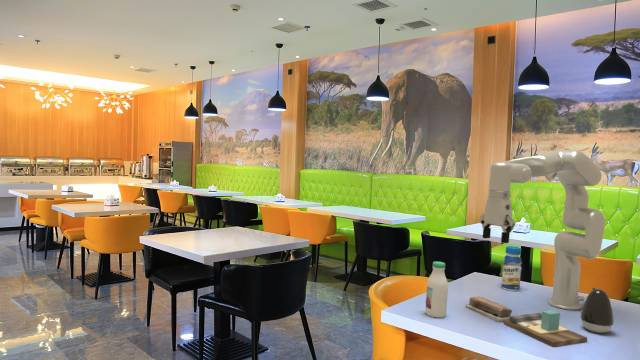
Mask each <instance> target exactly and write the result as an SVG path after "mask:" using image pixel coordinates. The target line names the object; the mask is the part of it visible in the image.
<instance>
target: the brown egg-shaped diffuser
mask: <svg viewBox="0 0 640 360" xmlns="http://www.w3.org/2000/svg"><path fill="white" fill-rule="evenodd" d="M580 319H581V323H582V325H583V327H584V328H585V329H587V331H590V332H592V333H596V334H597V333H598V334H605V333H607V332H609V331H610V330H611V329H612V327H613V325H614V322H615V321H614V311H613V306H612V304H611V300H610V297H609V294H607V292H606V291H605V290H603V289H601V288H595V287H593V288H592V290H591V291H590V292H589V293H588V295H587V296H586V298H585V300H584V303H583V306H582V308H581V313H580Z"/></svg>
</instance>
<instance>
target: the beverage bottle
mask: <svg viewBox="0 0 640 360" xmlns="http://www.w3.org/2000/svg"><path fill="white" fill-rule="evenodd" d="M505 254H506V255H505V256H504V257H503V260H502V261H503V263H502V266H501V267H502V273H501V284H500V285H501V286H500V287H501V288H502V289H503V290H505V291H511V292H519V291H520V289H521V276H522V274H521V273H522V268H523V267H522V264H523V262H522V258H521V254H522V248H521V247H520V246H515V245H507V246H506V247H505Z"/></svg>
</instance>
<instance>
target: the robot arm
mask: <svg viewBox="0 0 640 360" xmlns="http://www.w3.org/2000/svg"><path fill="white" fill-rule="evenodd" d="M555 173H556V176H557V179H558V180H559V182H560V183H561V185H562V187H563V189H564V192H565V201H564V206H563V212H562V213H563V214H562V219H561V220H562V225H563V226H564V227H566V228H568V229H572V230H577V231H582V232H585V233H579V232H573V231H566V230H565V231H560V232H558V233H557V234H556V235H555V237H554V240H553V241H554V250H555V251H554V252H555V262H554V263H555V264H554V273H553V274H554V275H553V287H552V298H549V299H548V300H547V301H548V302H547V303H548V305H550V306H553V307H555V308H558V309H563V310H569V311H578V310H582V308H583V306H582V304H581V303H580V302H585V300H586V298H585V296H584V295H581V296H580V295H579V293H580V292H579V291H580V278H581V277H580V276H581V262H580V260H579V257H580V258H582V259H583V258H584V259H589V260H594V259H596V258H597V257H598V256H599V255H600V252H601V250H602V245H603V239H604V234H605V233H604V232H605V228H606V226H605V225H606V218H605V215H604V213H603V212H602V211H600V210H599V209H595V208H588V207H589V199H590V198H589V197H590V195H589V193H588V190H587V189H586V187H594V186H597V185H598V184H600V182H601V180H602V171H601V169H600V168H599V166H598V165H597V164H596V162H594V161H593V160H592V159H591V158H590V157H589V156H588V155H587V154H585V153H584V152H583V151H580V150H576V149H574V150H573V149H572V150H571V149H560V150H559V149H558V150H552V151H549V152H546V153H545V152H544V153H541V154H538V155H532V156H527V157H526V156H525V157H521V158H515V159H510V160H506V161H502V162H492V163H491V164H490V171H489V184H488V195H487V199H486V202H485V207H484V213H482V214H481V215H480V216H479V219H480V224H481V226H482V227H481V228H482V239H491V234H492V231H491V230H492V228H491V226H496V227H501V230H502V232H501V238H500V243H502V244H509V242H510V233H512V231H513V230H514V229H515V228H514V227H515V226H516V224H517V223H516V221H515V220H514V219H513V208H512V200H510V198H511V197H512V196H511V186H512V185H511V184H524V183H527V182H529V181H530V180H531V178H536V177H537V178H540V177H546V176H549V175H551V174H555Z"/></svg>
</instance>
